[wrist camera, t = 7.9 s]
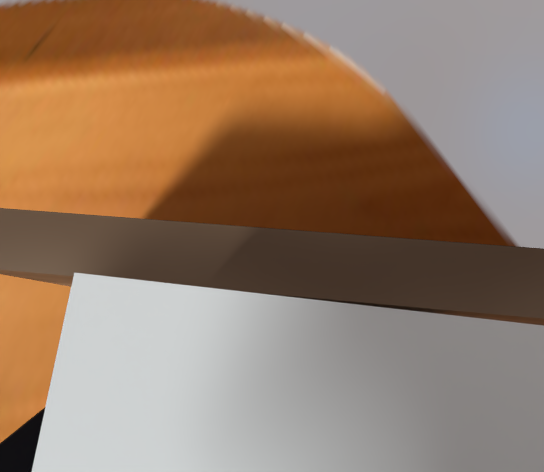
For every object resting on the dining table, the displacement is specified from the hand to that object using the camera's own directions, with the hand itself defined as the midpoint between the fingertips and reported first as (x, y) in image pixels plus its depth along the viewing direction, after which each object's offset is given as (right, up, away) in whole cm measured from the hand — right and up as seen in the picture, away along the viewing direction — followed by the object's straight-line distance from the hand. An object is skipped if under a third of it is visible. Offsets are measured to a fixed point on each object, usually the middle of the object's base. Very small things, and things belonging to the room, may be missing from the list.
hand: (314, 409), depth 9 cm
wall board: (+1, +1, +8) cm, 9 cm away
